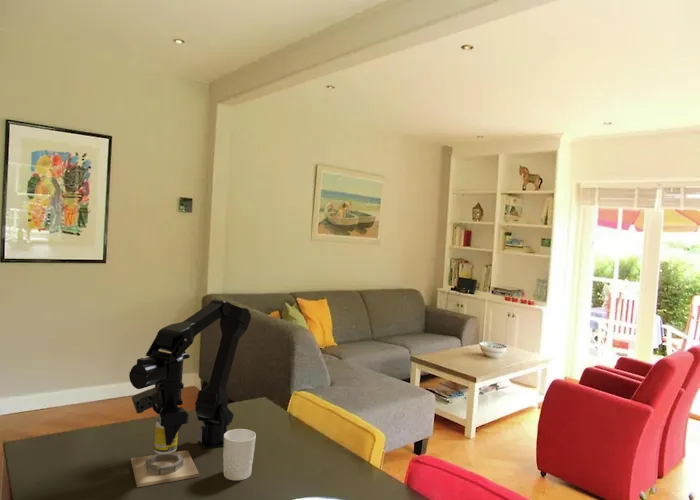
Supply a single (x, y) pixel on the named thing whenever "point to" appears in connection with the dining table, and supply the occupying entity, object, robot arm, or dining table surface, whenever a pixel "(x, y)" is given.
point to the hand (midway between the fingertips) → (166, 440)
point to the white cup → (238, 453)
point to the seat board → (163, 468)
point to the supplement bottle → (163, 441)
